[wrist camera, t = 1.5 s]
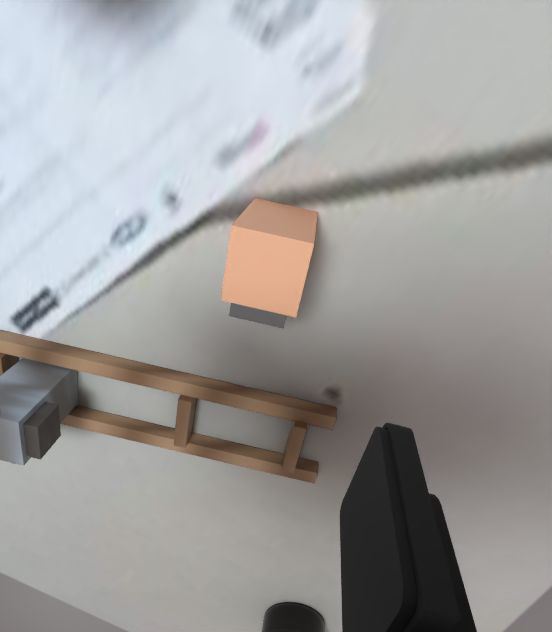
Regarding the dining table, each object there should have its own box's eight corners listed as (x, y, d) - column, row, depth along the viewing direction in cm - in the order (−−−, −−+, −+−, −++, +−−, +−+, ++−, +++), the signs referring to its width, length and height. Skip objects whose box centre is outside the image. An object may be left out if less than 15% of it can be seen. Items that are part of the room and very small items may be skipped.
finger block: (255, 198, 26) (231, 225, 19) (317, 212, 26) (314, 243, 19) (242, 271, 28) (218, 317, 22) (300, 284, 28) (291, 334, 22)
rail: (336, 407, 32) (338, 479, 26) (314, 472, 35) (311, 549, 29) (-34, 322, 32) (-120, 371, 26) (-21, 393, 36) (-95, 452, 30)
